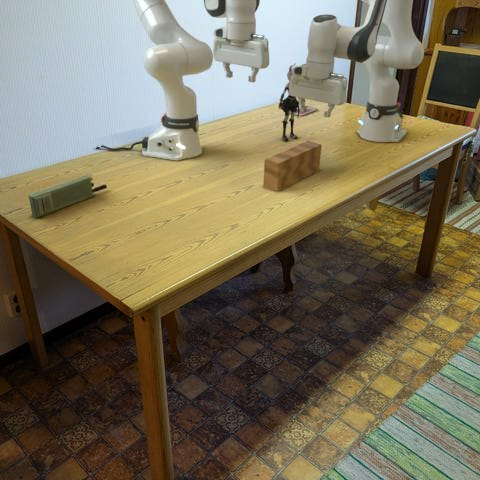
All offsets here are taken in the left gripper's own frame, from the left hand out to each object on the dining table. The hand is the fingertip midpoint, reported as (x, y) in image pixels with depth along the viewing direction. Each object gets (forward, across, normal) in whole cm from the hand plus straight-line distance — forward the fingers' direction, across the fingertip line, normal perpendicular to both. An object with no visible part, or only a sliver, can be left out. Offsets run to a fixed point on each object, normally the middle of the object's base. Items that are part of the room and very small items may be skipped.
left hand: (240, 79), depth 159 cm
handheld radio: (+31, +21, +52) cm, 64 cm away
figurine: (+31, +9, -41) cm, 53 cm away
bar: (+31, -16, -8) cm, 36 cm away
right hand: (+12, -16, -19) cm, 28 cm away
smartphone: (+31, +28, -79) cm, 90 cm away
